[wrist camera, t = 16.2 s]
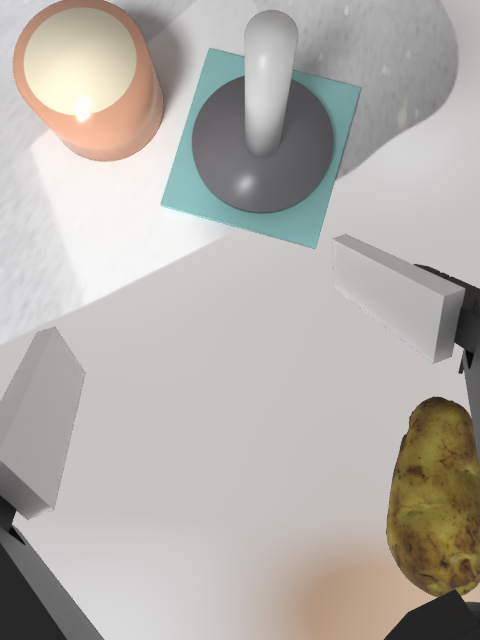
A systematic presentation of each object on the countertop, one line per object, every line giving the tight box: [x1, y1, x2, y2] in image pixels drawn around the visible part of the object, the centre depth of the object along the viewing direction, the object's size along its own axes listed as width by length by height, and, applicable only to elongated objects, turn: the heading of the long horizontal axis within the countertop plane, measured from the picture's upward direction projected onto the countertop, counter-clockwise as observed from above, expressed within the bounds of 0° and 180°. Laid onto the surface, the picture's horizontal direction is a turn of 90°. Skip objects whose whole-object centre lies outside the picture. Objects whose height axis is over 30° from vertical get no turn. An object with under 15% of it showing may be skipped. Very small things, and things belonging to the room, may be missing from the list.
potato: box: [386, 397, 480, 597], centre depth 24 cm, size 8×13×8 cm, turn 143°
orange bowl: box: [13, 0, 164, 162], centre depth 28 cm, size 11×11×5 cm
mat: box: [161, 48, 361, 249], centre depth 30 cm, size 15×16×1 cm
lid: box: [192, 10, 334, 214], centre depth 24 cm, size 13×13×11 cm
